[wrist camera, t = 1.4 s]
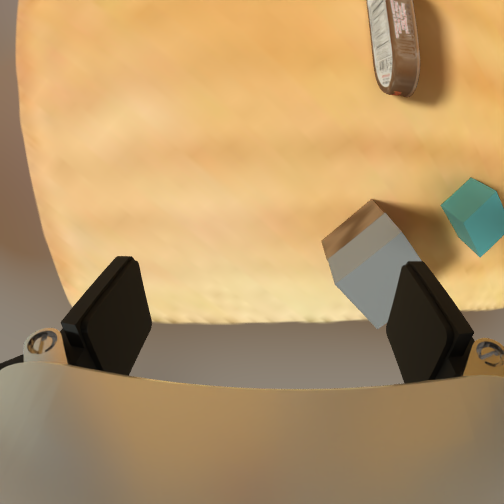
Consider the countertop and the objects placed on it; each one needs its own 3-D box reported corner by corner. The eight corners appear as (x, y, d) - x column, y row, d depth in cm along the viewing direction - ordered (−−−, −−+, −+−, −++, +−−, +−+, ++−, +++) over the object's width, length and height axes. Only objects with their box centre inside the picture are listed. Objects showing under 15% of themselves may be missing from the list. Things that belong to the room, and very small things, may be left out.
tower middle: (385, 212, 30) (401, 231, 26) (419, 261, 32) (436, 285, 28) (327, 259, 33) (334, 284, 29) (367, 302, 35) (377, 329, 31)
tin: (395, 97, 29) (428, 98, 21) (369, 95, 29) (397, 94, 22) (382, -19, 22) (408, -44, 15) (357, -22, 22) (377, -51, 15)
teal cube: (470, 177, 32) (496, 190, 26) (486, 210, 33) (510, 227, 28) (440, 205, 34) (463, 222, 29) (458, 237, 36) (480, 257, 30)
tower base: (371, 198, 35) (384, 212, 30) (405, 243, 37) (419, 262, 32) (321, 240, 38) (326, 259, 33) (358, 280, 40) (366, 302, 35)
